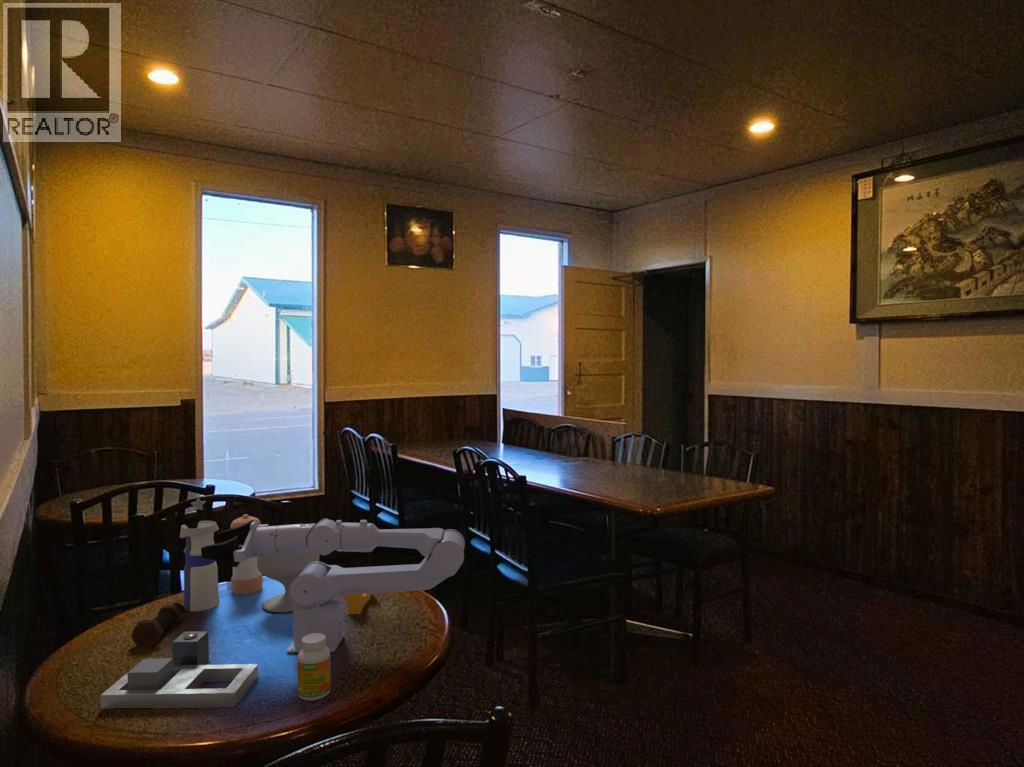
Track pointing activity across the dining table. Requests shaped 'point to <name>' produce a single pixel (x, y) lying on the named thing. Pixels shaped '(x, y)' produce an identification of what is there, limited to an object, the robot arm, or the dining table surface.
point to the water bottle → (199, 566)
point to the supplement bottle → (314, 668)
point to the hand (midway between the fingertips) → (210, 545)
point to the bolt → (156, 625)
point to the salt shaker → (246, 567)
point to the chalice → (283, 575)
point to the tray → (186, 688)
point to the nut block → (191, 648)
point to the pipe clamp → (357, 602)
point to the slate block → (150, 674)
